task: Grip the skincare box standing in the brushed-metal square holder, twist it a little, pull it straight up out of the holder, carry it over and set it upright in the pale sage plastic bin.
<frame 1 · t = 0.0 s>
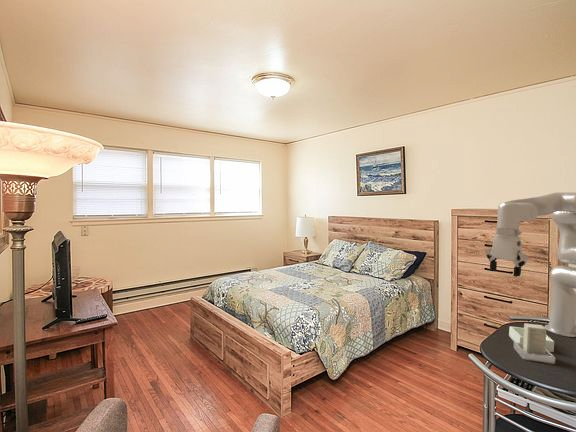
hand: (504, 273, 133), 31 cm above the table, tool pointing down, fingers open, 9 cm apart
skincare box: (533, 356, 128), resting in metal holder
sage bin: (529, 343, 138), on the table
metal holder: (533, 355, 128), on the table
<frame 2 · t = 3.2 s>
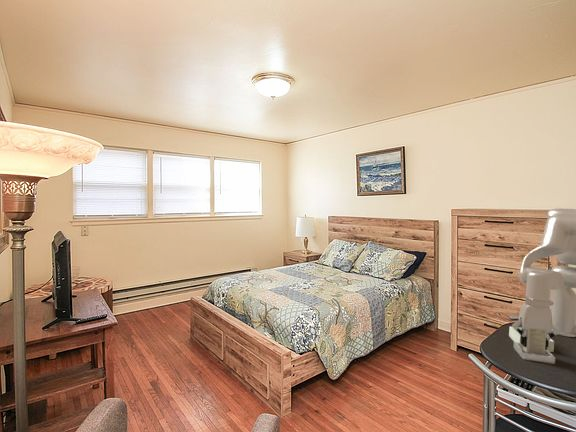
hand: (533, 346, 127), 4 cm above the table, tool pointing down, fingers closed on skincare box, 6 cm apart
skincare box: (533, 356, 128), resting in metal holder, touching gripper
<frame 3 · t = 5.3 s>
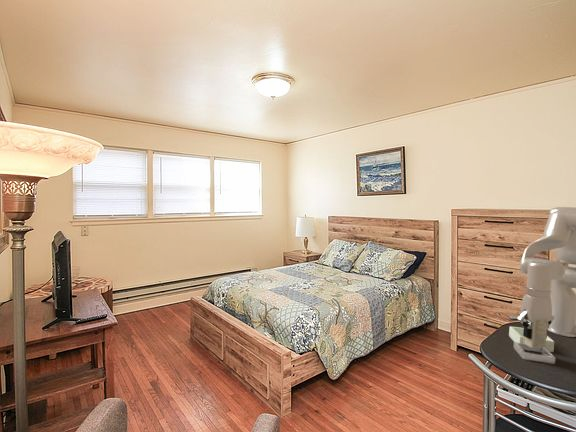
hand: (534, 336, 127), 8 cm above the table, tool pointing down, fingers closed on skincare box, 6 cm apart
skincare box: (534, 346, 128), point 4 cm above the table, touching gripper
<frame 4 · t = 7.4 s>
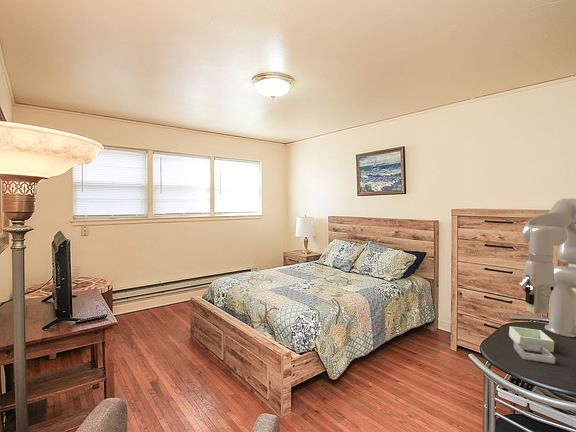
hand: (537, 302, 127), 21 cm above the table, tool pointing down, fingers closed on skincare box, 6 cm apart
skincare box: (536, 312, 127), point 17 cm above the table, touching gripper
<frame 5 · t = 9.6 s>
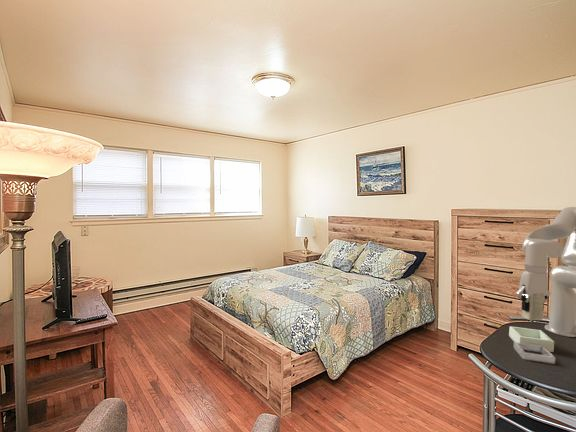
hand: (532, 310, 138), 15 cm above the table, tool pointing down, fingers closed on skincare box, 6 cm apart
skincare box: (531, 318, 138), point 11 cm above the table, touching gripper
when the fingers open (6 cm above the table, at t = 11.5 s): skincare box drops 2 cm, resting on sage bin.
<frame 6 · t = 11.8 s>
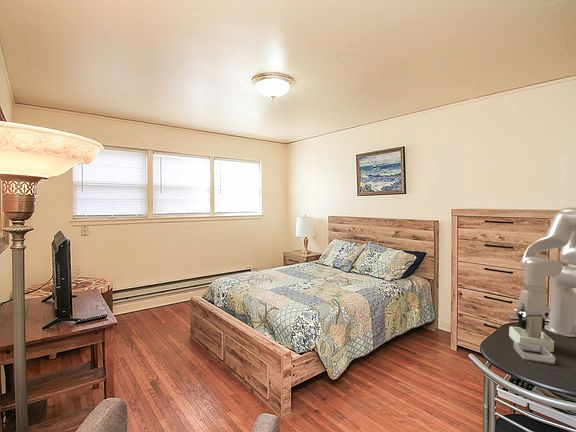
hand: (531, 327, 138), 7 cm above the table, tool pointing down, fingers open, 8 cm apart
skincare box: (529, 342, 138), resting on sage bin
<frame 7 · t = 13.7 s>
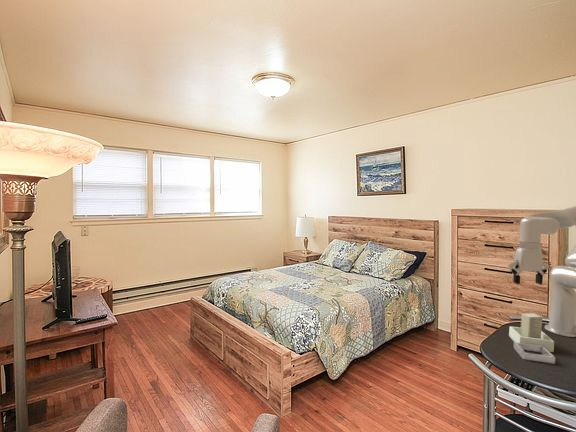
hand: (527, 283, 143), 25 cm above the table, tool pointing down, fingers open, 9 cm apart
nothing on the table moved.
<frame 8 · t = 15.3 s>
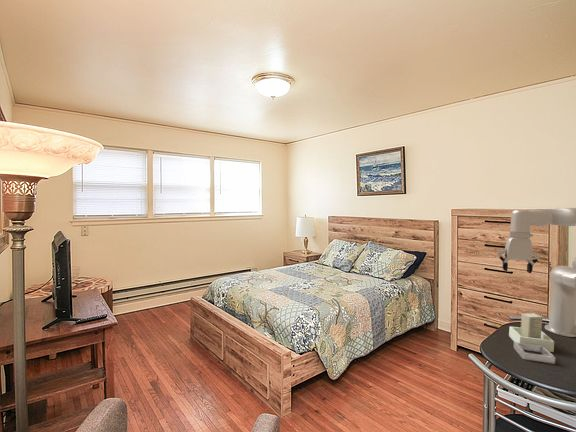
hand: (517, 271, 152), 28 cm above the table, tool pointing down, fingers open, 9 cm apart
nothing on the table moved.
at the end: skincare box inside the target area on the sage bin (0.1 cm from its centre), point 0.4 cm above the sage bin's base; skincare box tilted 0°; the gripper is holding nothing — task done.
